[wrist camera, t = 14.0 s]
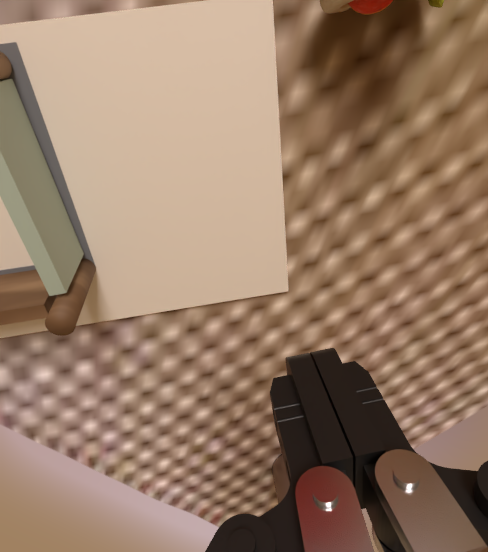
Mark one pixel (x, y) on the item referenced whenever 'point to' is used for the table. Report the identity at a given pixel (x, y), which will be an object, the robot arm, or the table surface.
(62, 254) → the hinged fence section
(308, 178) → the table surface
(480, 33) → the table surface
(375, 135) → the table surface
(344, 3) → the bird rattle
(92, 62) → the card
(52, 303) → the fence
